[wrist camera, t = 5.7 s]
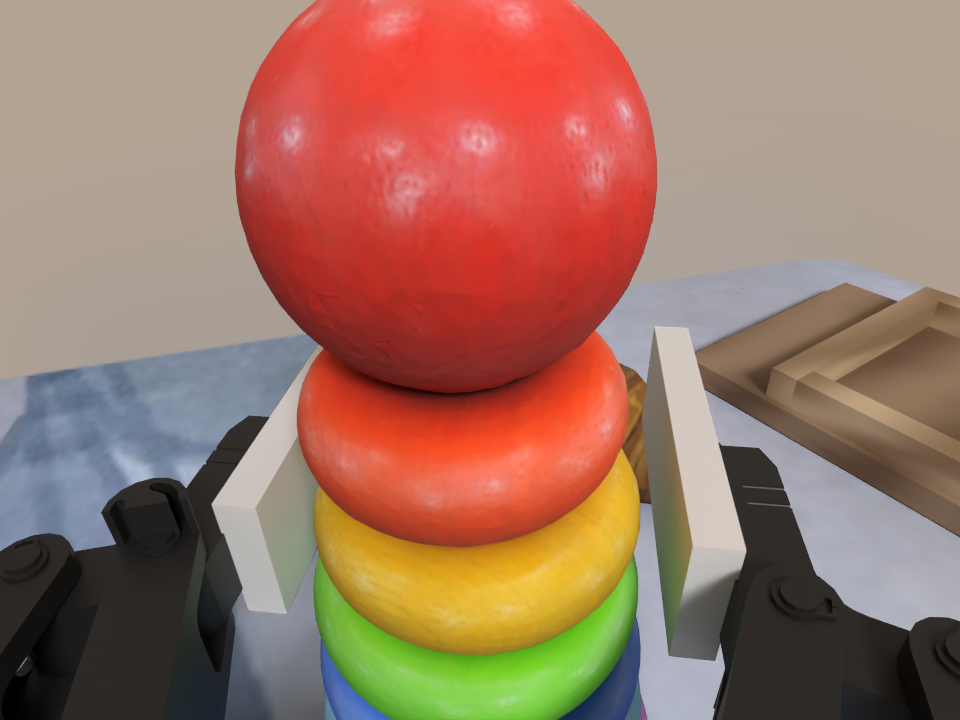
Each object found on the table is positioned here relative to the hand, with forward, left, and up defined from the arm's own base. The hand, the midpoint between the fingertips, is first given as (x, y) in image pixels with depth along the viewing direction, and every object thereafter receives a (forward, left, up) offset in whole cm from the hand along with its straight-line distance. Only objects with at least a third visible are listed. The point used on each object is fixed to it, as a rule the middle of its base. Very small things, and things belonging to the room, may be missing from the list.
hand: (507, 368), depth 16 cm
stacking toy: (+4, -3, -10) cm, 11 cm away
